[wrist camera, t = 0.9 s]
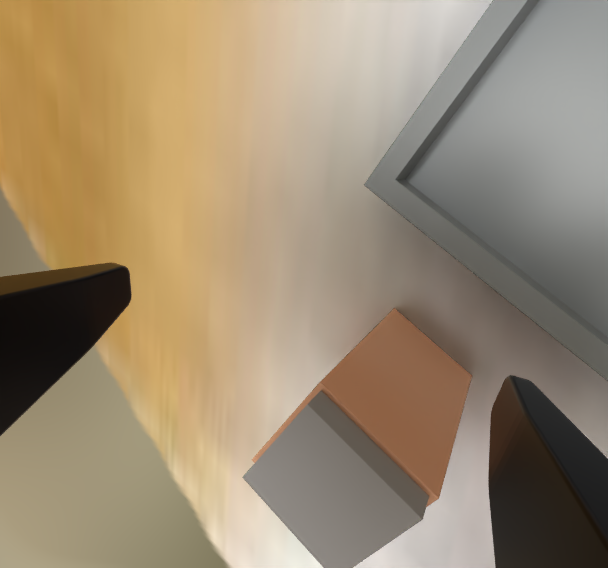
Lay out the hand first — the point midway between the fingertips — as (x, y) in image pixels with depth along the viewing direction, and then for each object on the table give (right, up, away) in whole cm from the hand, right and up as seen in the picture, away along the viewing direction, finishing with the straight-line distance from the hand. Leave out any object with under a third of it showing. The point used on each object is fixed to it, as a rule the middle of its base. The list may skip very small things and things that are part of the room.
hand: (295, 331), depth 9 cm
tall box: (+5, -4, +13) cm, 14 cm away
